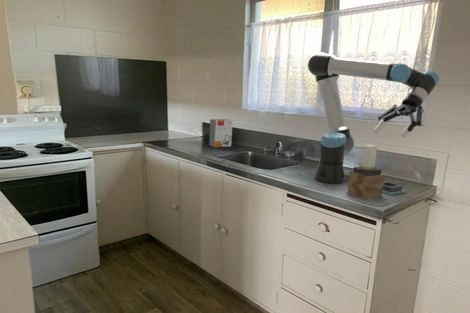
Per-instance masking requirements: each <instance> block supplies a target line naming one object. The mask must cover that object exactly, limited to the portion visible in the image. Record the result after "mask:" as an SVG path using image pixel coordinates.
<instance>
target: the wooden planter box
mask: <svg viewBox="0 0 470 313" xmlns="http://www.w3.org/2000/svg"><path fill="white" fill-rule="evenodd" d="M348 177H349V178H348V184H347V194H349V195H352V196H355V197H357V198H360V199H363V200H365V201H366V200H372V199H378V198H381V197H383V196H382V195H383V192H382V189H383V182H385V181H384V179H385V173H382V169H380V168H376V167H375V169H374V170H365V169H361V165H359V166H353V170H350V171H349V176H348Z"/></svg>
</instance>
